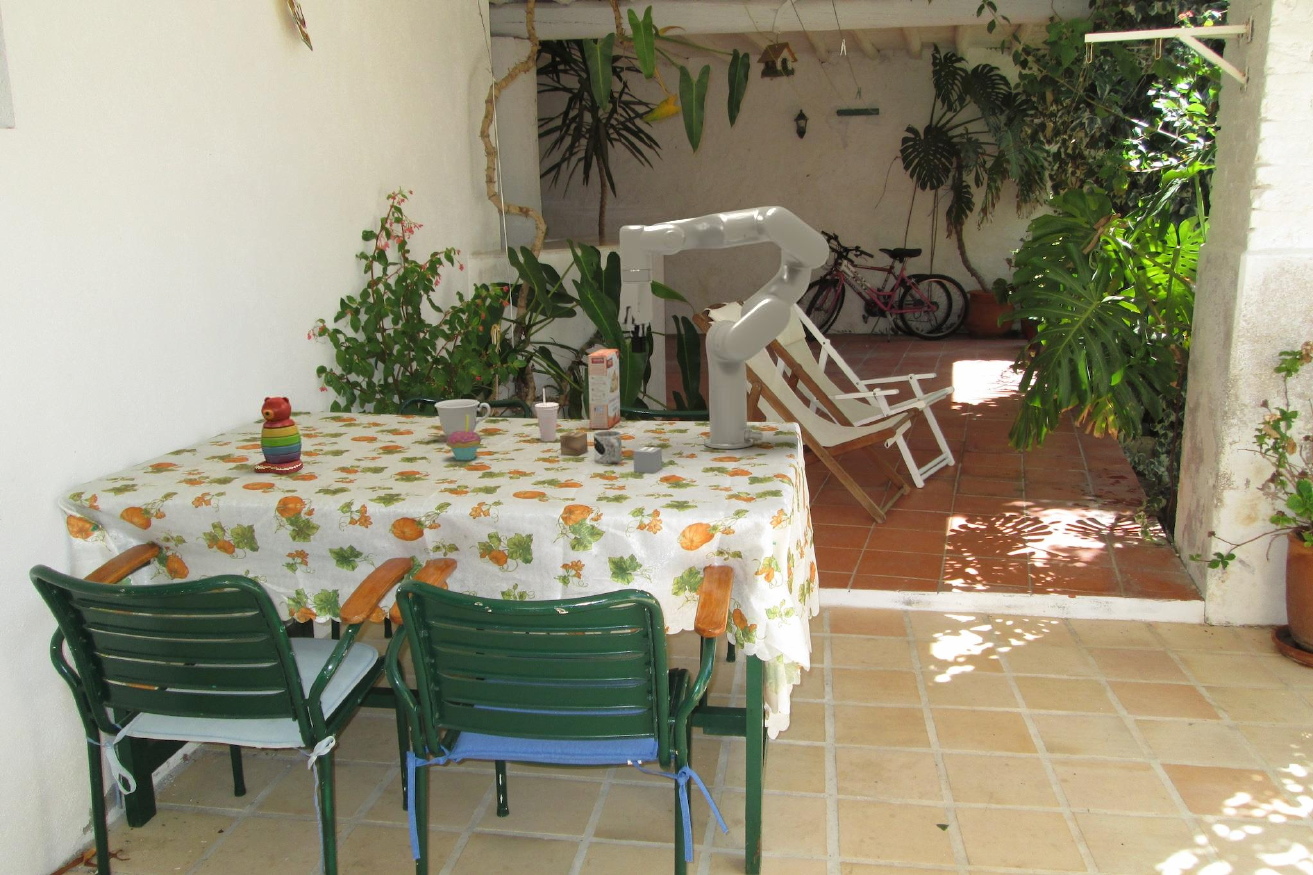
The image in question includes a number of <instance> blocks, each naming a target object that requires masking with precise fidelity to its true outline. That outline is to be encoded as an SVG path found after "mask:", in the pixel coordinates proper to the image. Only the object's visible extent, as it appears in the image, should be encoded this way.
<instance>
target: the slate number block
mask: <svg viewBox="0 0 1313 875" xmlns="http://www.w3.org/2000/svg"><path fill="white" fill-rule="evenodd" d="M632 452H633V453H632V454H633V472H634V473H644V474H645V473H646V474H655V473H657V472H659V471H660V470H662V469H663V449H662V447H656V446H655V447H652V446H640V447H638V448H637V449H635V450H633V451H632Z"/></svg>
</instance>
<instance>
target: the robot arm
mask: <svg viewBox="0 0 1313 875" xmlns="http://www.w3.org/2000/svg"><path fill="white" fill-rule="evenodd" d="M764 242H765V243H766V242H773V243H774V244H775V245H777V246H778V247H779V248H780V249H781V262H780V267H779V270H778V272H777V273H776V274H775V275H774V277H772V278H771V279H770V280H769V281H768V282H767V283H766V284H764V286H762V287H761V288H760V289H759V290H758V291H756V292H755V293H754V294H753V295H751V296H750V297H748V298H747V299H746V300H745V301H744V303H743V304H742V306H741V309H740V318H739V319H738V320H737V321H733V320H730V319H724V320H723V319H721V320H719V321H716V322H715V323H713V324H712V325H711V326H710V328H708V330H707V333H706V336H705V351H706V356H707V365H708V368H707V369H708V399H709V400H708V402H709V403H708V404H709V409H708V410H709V436H708V437H706V438H704V439H703V445H704V446H706V447H709V448H712V449H717V450H718V449H720V450H721V449H722V450H731V449H732V450H733V449H743V448H747V447H750V446H752V445H753V444H754V441H755V440H758V441H759V440H760V441H762V440H763V438H764V436H763V432H762V431H761V430H760V431H759V430H752V429H751V425H748V411H747V410H748V408H747V406H748V405H747V404H748V402H747V401H748V398H747V393H748V392H747V384H748V382H747V381H748V380H747V366H746V362H747V361H749V360H751V359H752V358H754V357H755V356H757V354H759V353H760V352H761V351H763V350H764V348H766V347H767V346H769V344H771V342H773V341H774V340H775V339H776V338H777V337H779V336H780V335H781V334H782V333H783V332H784V331H785V330H786V328H788V325H789V323H790V321H791V315H792V314H791V308H792V307H793V306H794V305H795V304H796V303H797V302H798V301H799V300H800V299H801V298H802V297H803V296H804V295H805V293H806V292H807V290H808V288H809V284H810V282H811V276H812V270H813V269H819V268H820V267H822V266H823V265H824V264H825V263H826V262H827V260H828V259H829V255H830V246H829V244H828V240H826V239H825V237H824V236H823V235H822V234H821V233H819V232H818V231H817V230H815V229H814V228H813V227H811V226H810V225H809V224H807V223H806V222H804V221H803V220H802V219H801V218H799V217H798V216H797V215H796V214H794V213H793V212H792V211H790V210H789V209H787V208H785V207H782V206H777V205H774V206H771V205H769V206H759V207H752V208H747V209H746V208H745V209H739V210H733V211H725V212H718V213H712V214H711V213H710V214H707V215H702V216H698V217H693V218H686V219H680V220H679V219H677V220H671V221H665V222H659V223H658V222H657V223H655V224H652V225H644V224H633V225H632V224H631V225H630V224H629V225H628V224H627V225H623V226H622V227H620V229H619V254H620V256H619V258H620V259H619V260H620V281H621V282H620V283H621V287H620V297H619V300H620V301H619V302H620V303H619V319H620V320H619V321H620V324H622V325H626V330H627V331H629V333H630V334H629V335H630V337H631V338H630V340H631V342H630V343H631V352H632V354H644V353H646V352H647V338H646V337H647V328H648V327H649V326H650V322H651V321H652V320H653V317H654V313H653V312H654V310H653V309H654V307H653V305H654V304H653V295H652V287H651V286H652V283H653V271H652V270H653V269H652V267H653V265H652V264H653V262H652V254H653V255H663V256H664V255H666V256H672V255H676V254H677V253H679V252H680V251H685V250H686V251H687V250H693V249H694V250H697V249H708V250H709V249H710V250H711V249H716V250H717V249H725V248H726V249H727V248H732V247H739V246H744V245H745V246H746V245H750V244H751V245H753V244H758V243H759V244H760V243H764Z"/></svg>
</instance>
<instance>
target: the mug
mask: <svg viewBox="0 0 1313 875" xmlns="http://www.w3.org/2000/svg"><path fill="white" fill-rule="evenodd" d="M622 444H623V443H622V433H621V432H620V431H615V430H605V431H604V430H603V431H597V432H595V433H593V448H594V449H593V450H594V462H595V463H597V464H600V465H601V464H602V465H604V464H605V465H610V464H617V463H621V462H623V452H622V451H623V448H622Z"/></svg>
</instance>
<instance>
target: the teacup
mask: <svg viewBox="0 0 1313 875" xmlns="http://www.w3.org/2000/svg"><path fill="white" fill-rule="evenodd" d="M478 406H479V407H478ZM434 407H435V408H436V410H437V414H438V418H439V419H438V420H439V423H440V427H441V430H442V432H443V434H445V435H446V436H447V437H448V436H449V435H451V434H452V433H453V432H457V431H463V430H464V431H465V430H466V415H469V425H468V430H470V431H472V432H475V429H476V427H477V425H478V424H479V423H480V422H482V421H484V420H486V419H487V418H489V416H490V415H491V412H492V410H491V406H490V405H489V403H487V402H481V403H480V401H478V400H477V399H468V398H467V399H466V398H465V399H464V398H462V399H460V398H459V399H449V400H447V399H446V400H442V401H439V402H436V403H435V404H434ZM483 407H484V408H486V409H487V412H486V414H485V415H484V416H482V417H479V418H478V419H477V415H478V414H477V412H481V411H482V408H483ZM468 412H469V414H468Z"/></svg>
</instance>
